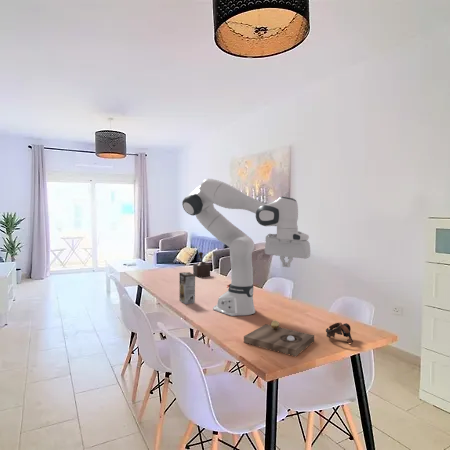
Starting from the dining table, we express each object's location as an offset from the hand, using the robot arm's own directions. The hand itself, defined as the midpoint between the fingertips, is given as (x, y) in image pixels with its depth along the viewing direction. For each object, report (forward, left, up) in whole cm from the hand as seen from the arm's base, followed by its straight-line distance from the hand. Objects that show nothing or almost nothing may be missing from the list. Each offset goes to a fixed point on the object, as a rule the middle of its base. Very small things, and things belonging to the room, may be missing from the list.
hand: (286, 266), depth 145 cm
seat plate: (+3, -12, -28) cm, 31 cm away
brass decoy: (-2, -6, -24) cm, 25 cm away
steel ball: (+8, -12, -27) cm, 30 cm away
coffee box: (-66, +10, -29) cm, 72 cm away
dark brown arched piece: (+23, +5, -29) cm, 37 cm away
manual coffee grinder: (-110, +75, -29) cm, 136 cm away
